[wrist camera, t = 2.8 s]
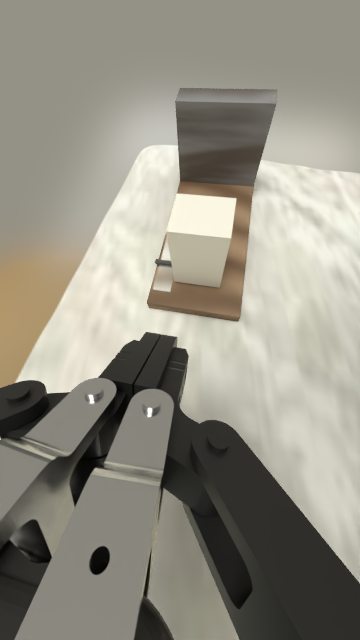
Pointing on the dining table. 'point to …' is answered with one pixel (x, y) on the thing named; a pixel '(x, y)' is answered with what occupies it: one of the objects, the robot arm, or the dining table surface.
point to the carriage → (199, 238)
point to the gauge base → (217, 186)
